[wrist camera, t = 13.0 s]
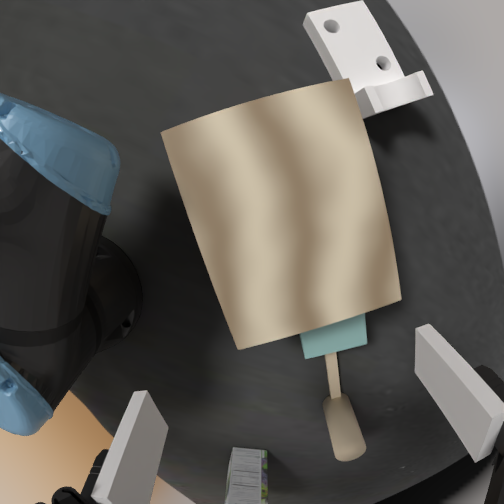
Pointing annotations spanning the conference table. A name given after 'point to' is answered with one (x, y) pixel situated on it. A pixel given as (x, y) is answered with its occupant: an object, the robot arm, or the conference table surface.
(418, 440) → the conference table surface
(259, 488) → the syrup box
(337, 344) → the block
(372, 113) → the bracket
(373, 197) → the wooden frame
